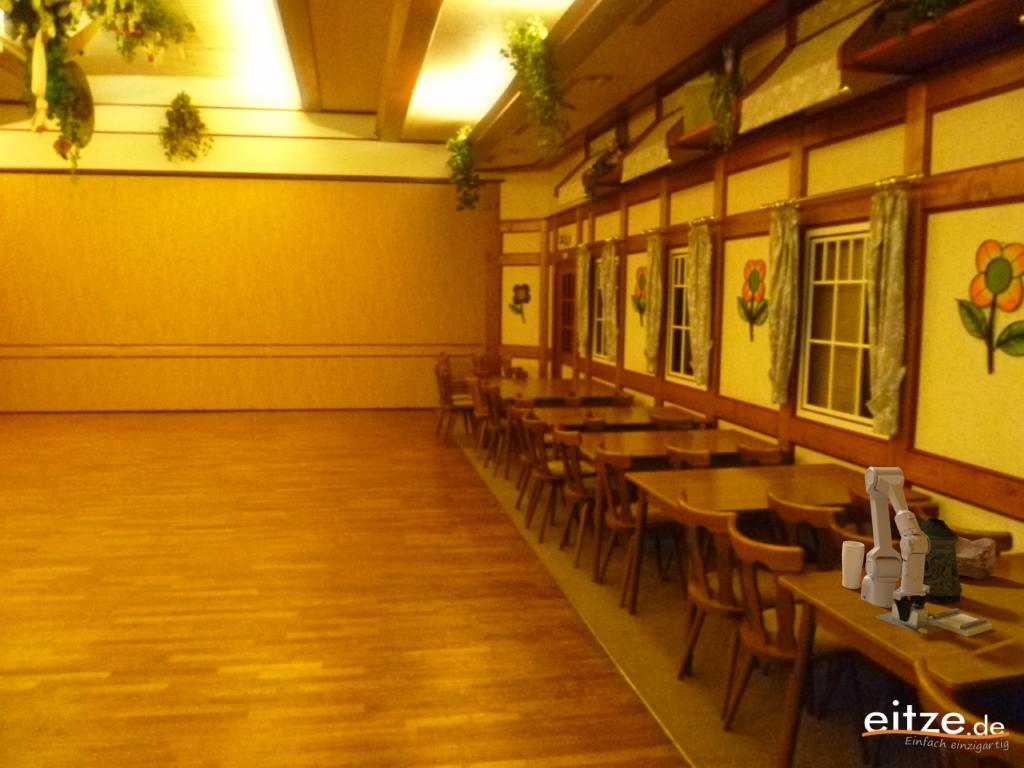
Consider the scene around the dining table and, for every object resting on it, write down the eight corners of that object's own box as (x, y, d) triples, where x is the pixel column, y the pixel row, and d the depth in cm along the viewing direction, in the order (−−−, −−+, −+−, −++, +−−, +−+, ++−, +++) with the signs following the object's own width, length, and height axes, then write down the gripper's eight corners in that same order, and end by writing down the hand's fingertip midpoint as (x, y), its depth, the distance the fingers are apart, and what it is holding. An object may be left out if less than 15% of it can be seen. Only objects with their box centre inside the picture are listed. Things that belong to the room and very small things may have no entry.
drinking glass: (855, 583, 275) (858, 540, 273) (865, 590, 268) (868, 546, 267) (836, 583, 275) (839, 540, 273) (845, 590, 268) (848, 546, 266)
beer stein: (956, 608, 254) (963, 531, 252) (890, 593, 266) (896, 520, 263) (965, 594, 267) (971, 520, 265) (901, 580, 279) (907, 510, 276)
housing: (891, 619, 241) (893, 599, 241) (901, 616, 244) (903, 596, 243) (916, 629, 234) (917, 608, 234) (926, 626, 237) (928, 605, 236)
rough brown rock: (912, 574, 289) (916, 534, 286) (924, 559, 302) (928, 521, 299) (986, 592, 274) (991, 550, 271) (995, 576, 287) (1000, 536, 284)
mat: (874, 619, 244) (874, 613, 243) (894, 613, 249) (895, 607, 248) (923, 639, 230) (924, 632, 230) (944, 633, 235) (945, 626, 235)
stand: (927, 624, 240) (928, 613, 240) (951, 617, 246) (952, 606, 246) (966, 640, 230) (968, 628, 230) (990, 632, 236) (991, 620, 236)
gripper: (910, 582, 230) (906, 628, 232) (940, 575, 238) (936, 619, 239) (887, 575, 237) (884, 619, 238) (918, 567, 244) (914, 611, 245)
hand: (909, 619), depth 239 cm, fingers closed on housing, 5 cm apart
